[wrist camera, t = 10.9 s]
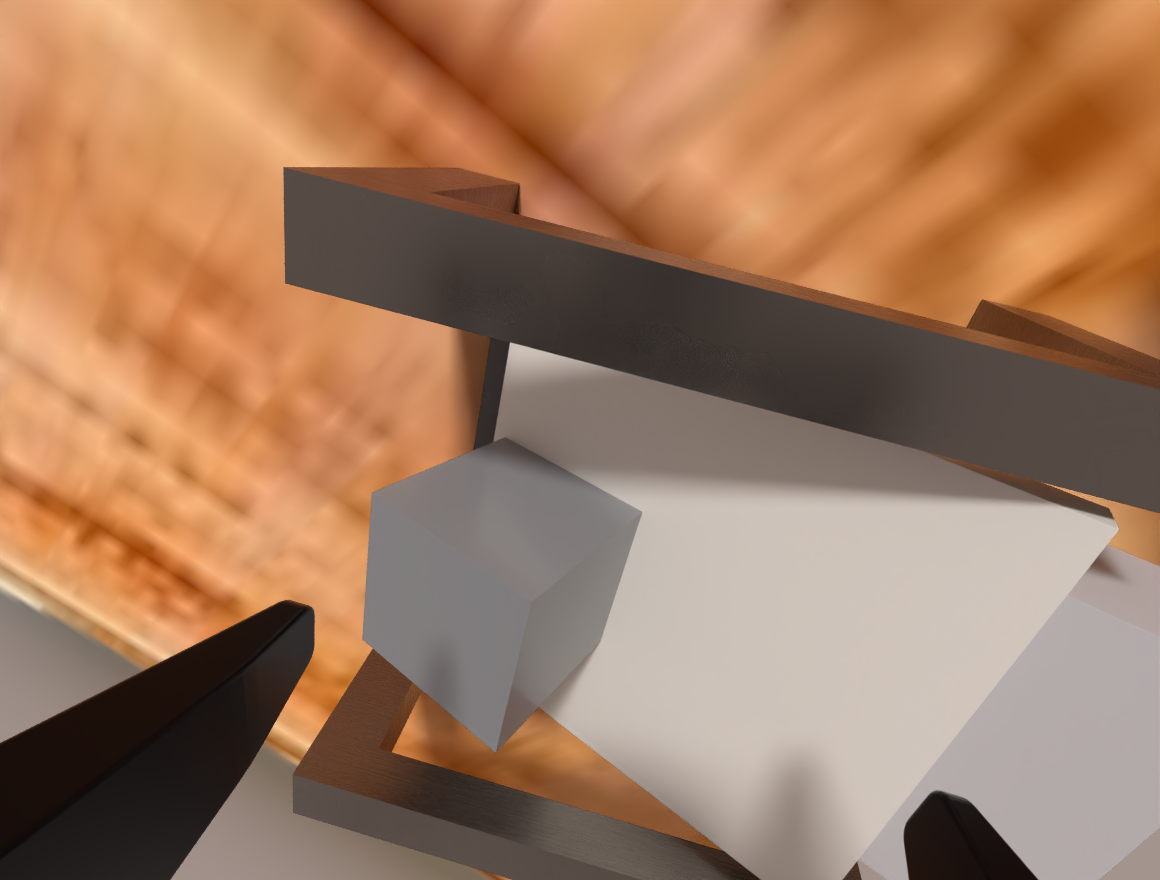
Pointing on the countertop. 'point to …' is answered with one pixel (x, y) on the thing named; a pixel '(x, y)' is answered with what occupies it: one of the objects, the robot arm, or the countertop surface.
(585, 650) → the grey matte cube
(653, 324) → the frame
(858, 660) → the trapdoor
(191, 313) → the countertop surface
